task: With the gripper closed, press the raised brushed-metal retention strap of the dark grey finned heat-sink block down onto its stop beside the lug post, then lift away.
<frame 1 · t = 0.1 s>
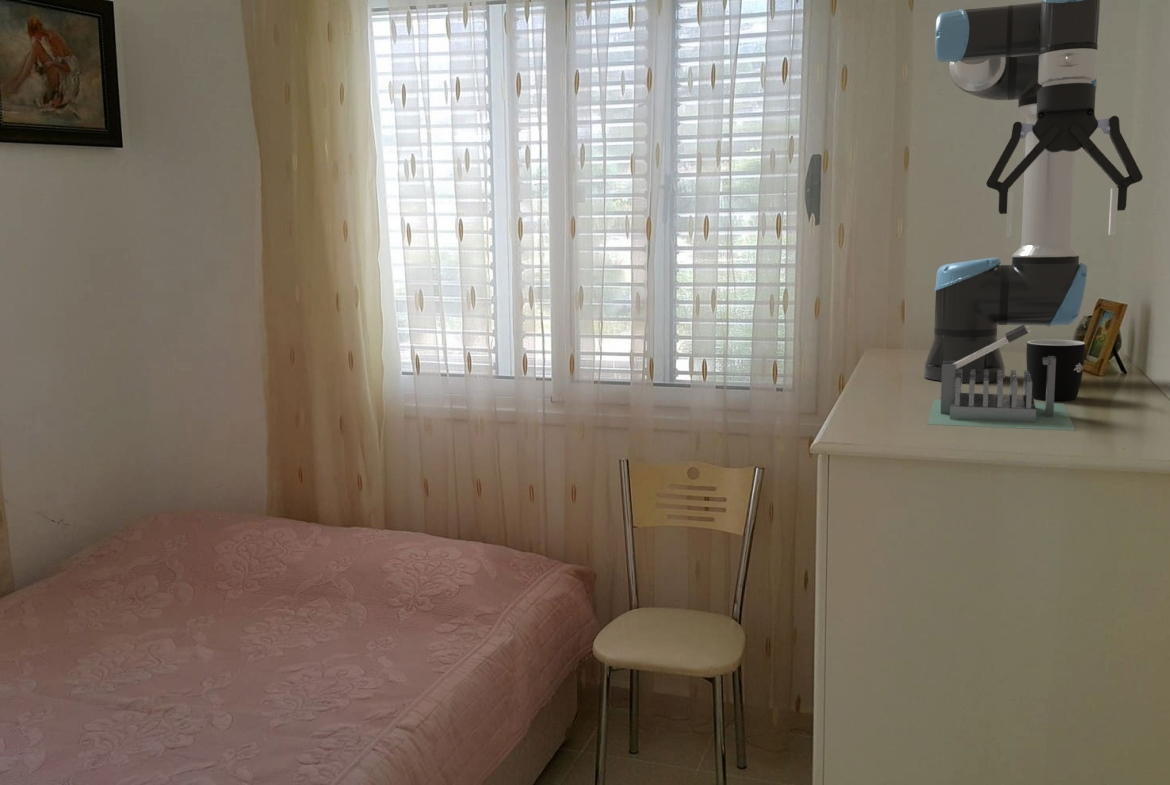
hand: (1059, 236, 147), 28 cm above the table, fingers open, 13 cm apart
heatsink: (991, 413, 159), resting on board
board: (998, 417, 159), on the table
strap: (986, 349, 158), point 11 cm above the table, hinge at 30.0°
mug: (1054, 401, 173), on the table
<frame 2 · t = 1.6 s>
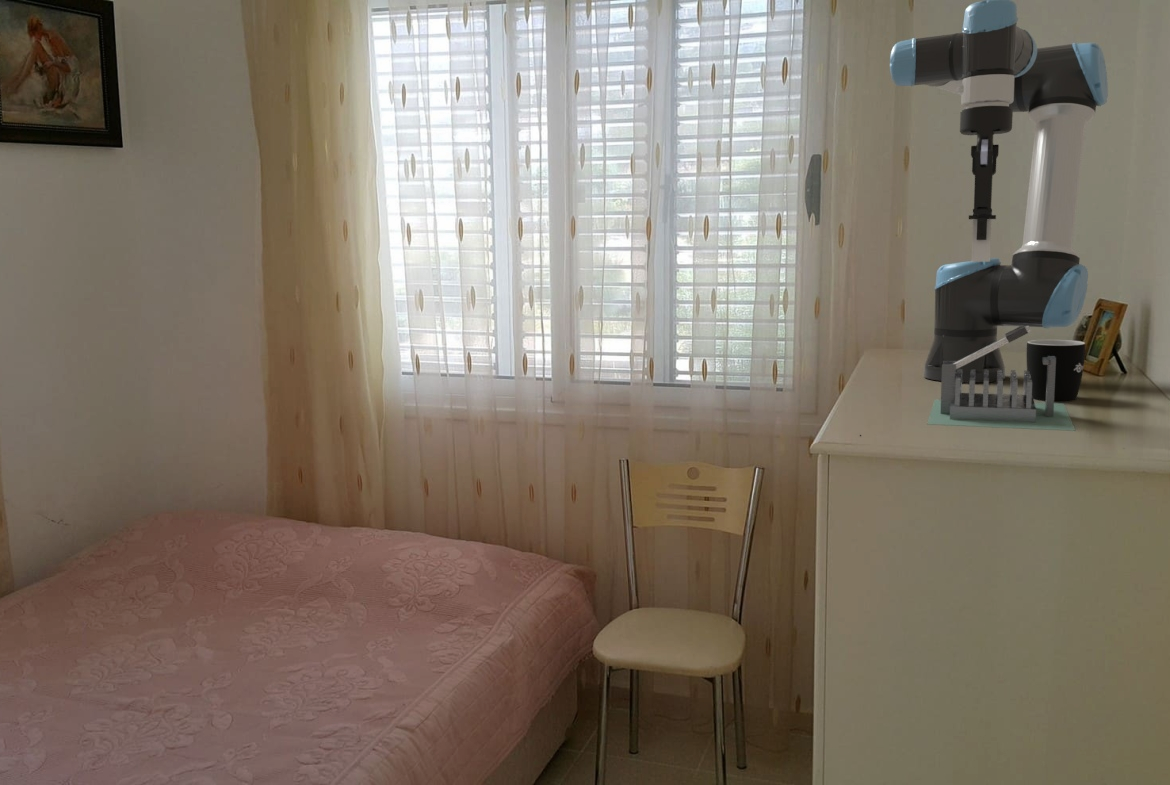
hand: (980, 261, 160), 24 cm above the table, fingers closed
nothing on the table moved.
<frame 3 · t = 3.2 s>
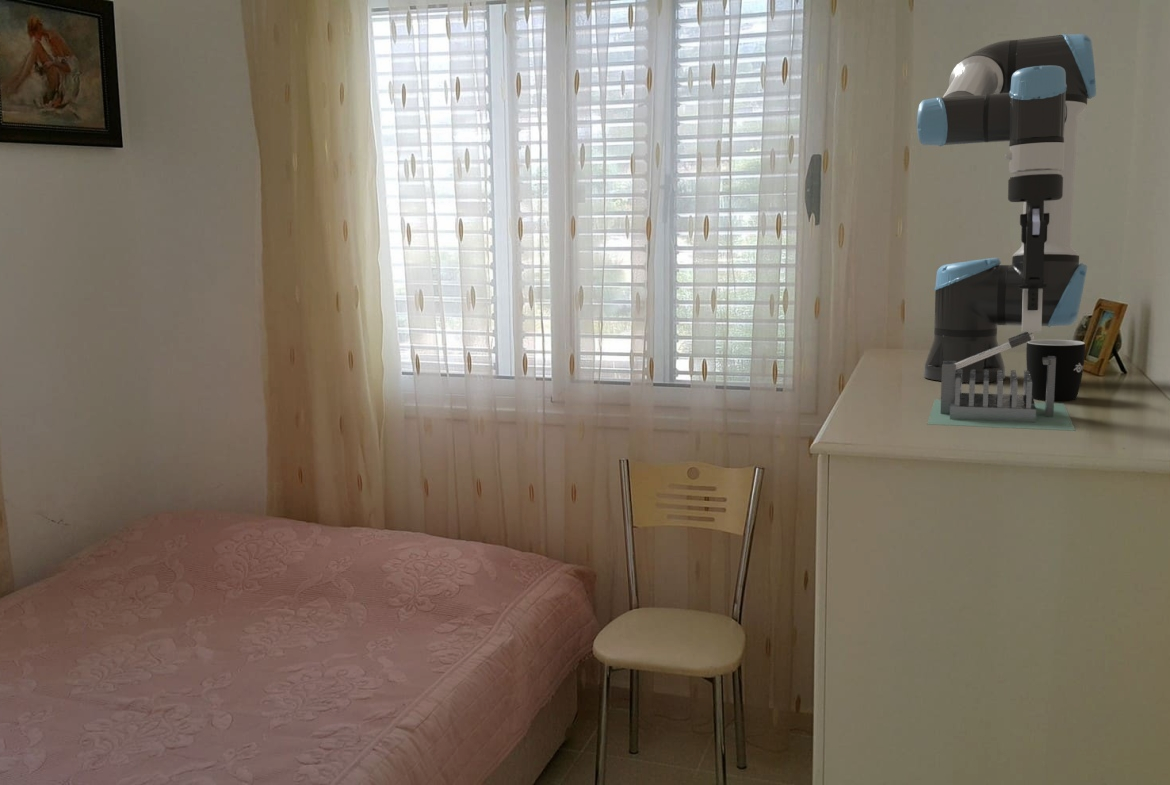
hand: (1031, 331, 155), 14 cm above the table, fingers closed
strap: (988, 353, 158), point 10 cm above the table, hinge at 24.6°, touching gripper
everything else where it was.
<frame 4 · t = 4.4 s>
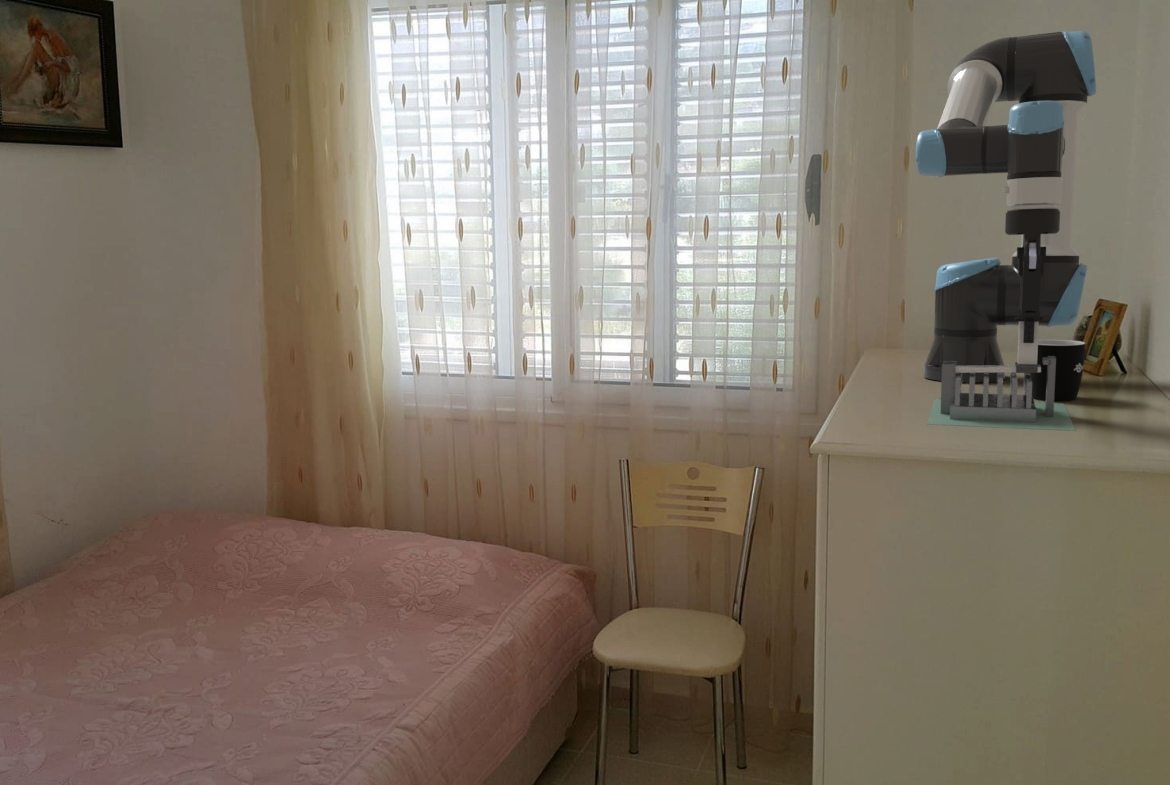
hand: (1027, 363, 156), 9 cm above the table, fingers closed
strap: (992, 368, 158), point 8 cm above the table, hinge at 1.7°, touching gripper
everything else where it was.
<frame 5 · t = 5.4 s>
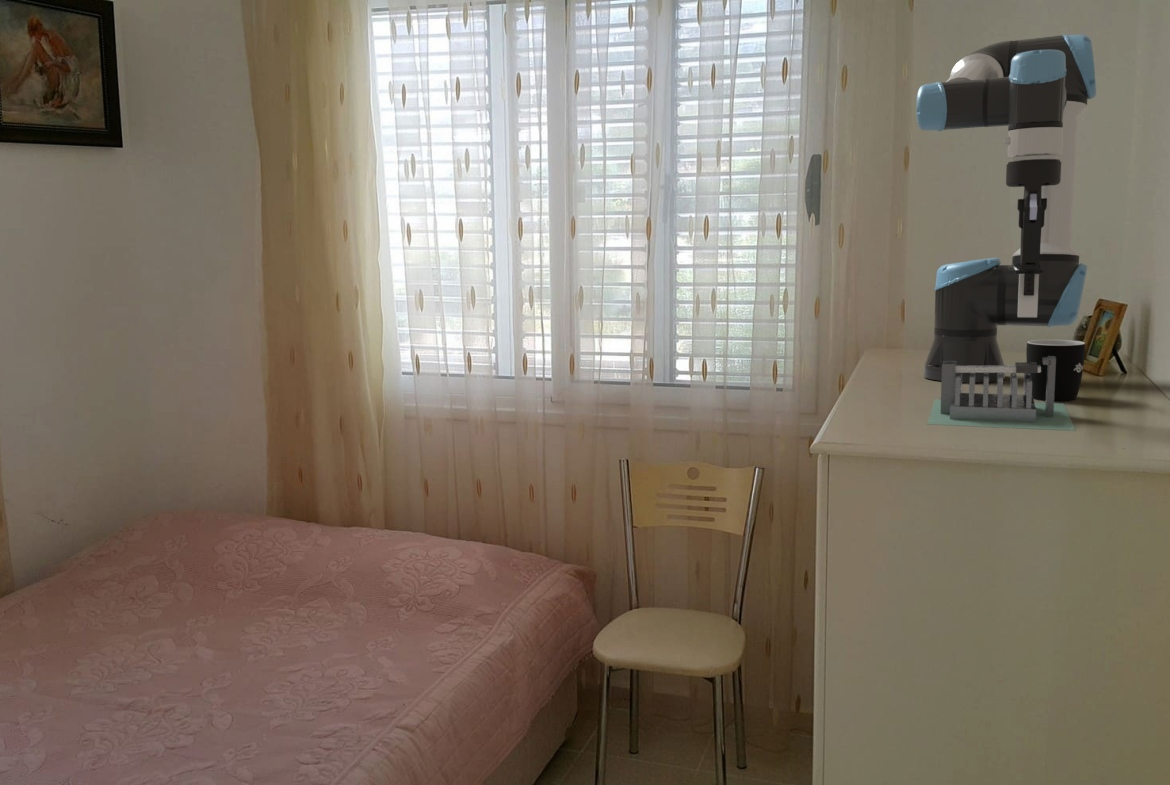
hand: (1027, 316, 155), 16 cm above the table, fingers closed
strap: (992, 368, 158), point 8 cm above the table, hinge at 1.6°
everything else where it was.
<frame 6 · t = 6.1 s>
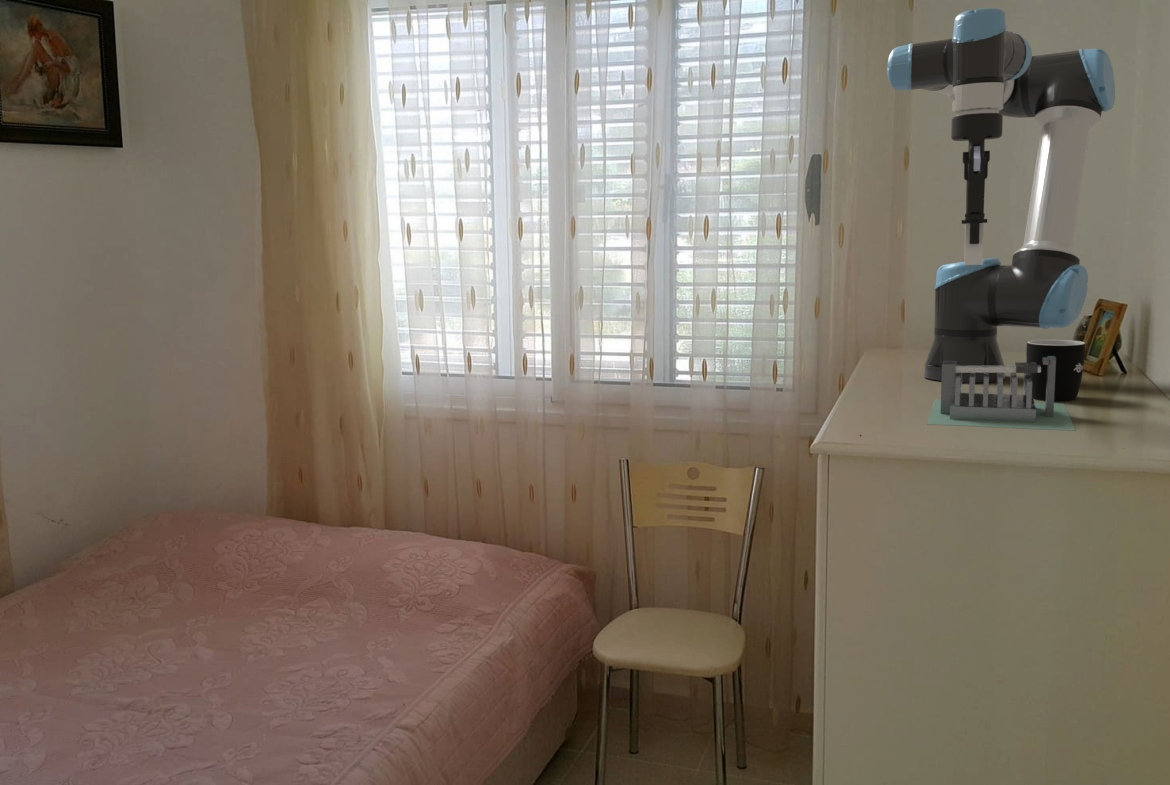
hand: (973, 264, 164), 24 cm above the table, fingers closed
nothing on the table moved.
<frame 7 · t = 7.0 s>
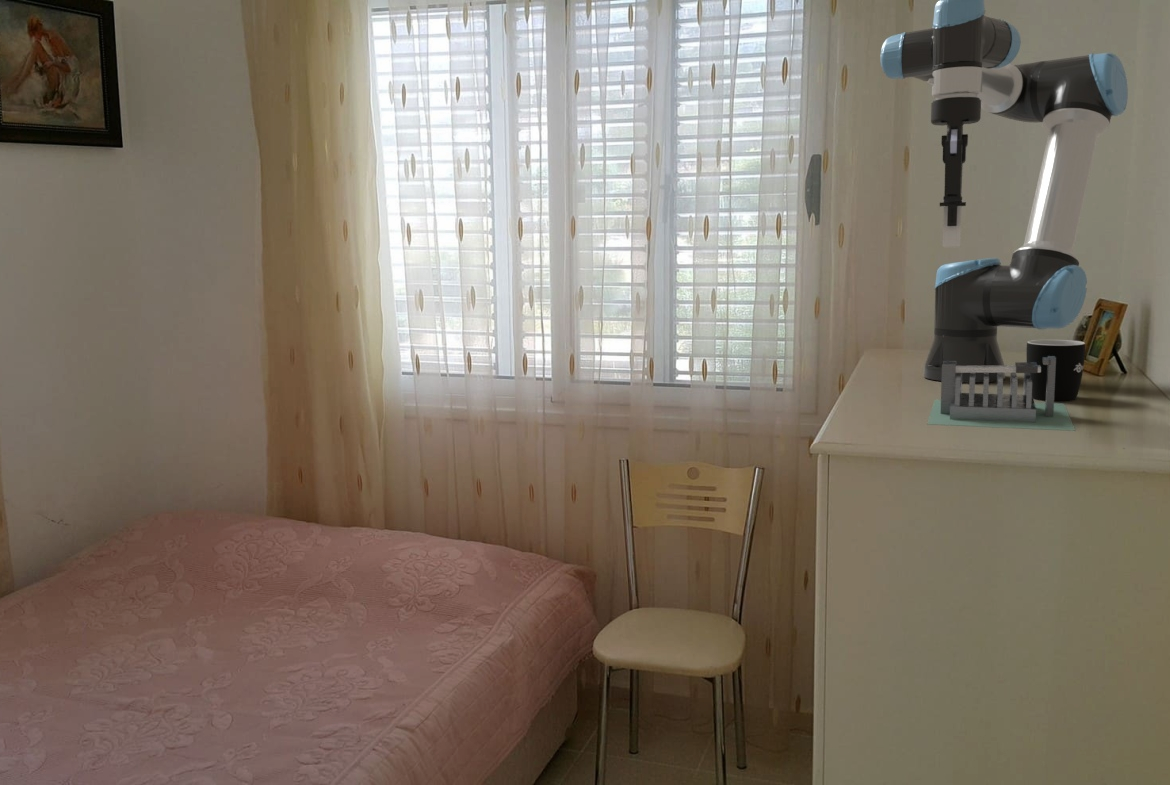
hand: (951, 246, 166), 26 cm above the table, fingers closed
nothing on the table moved.
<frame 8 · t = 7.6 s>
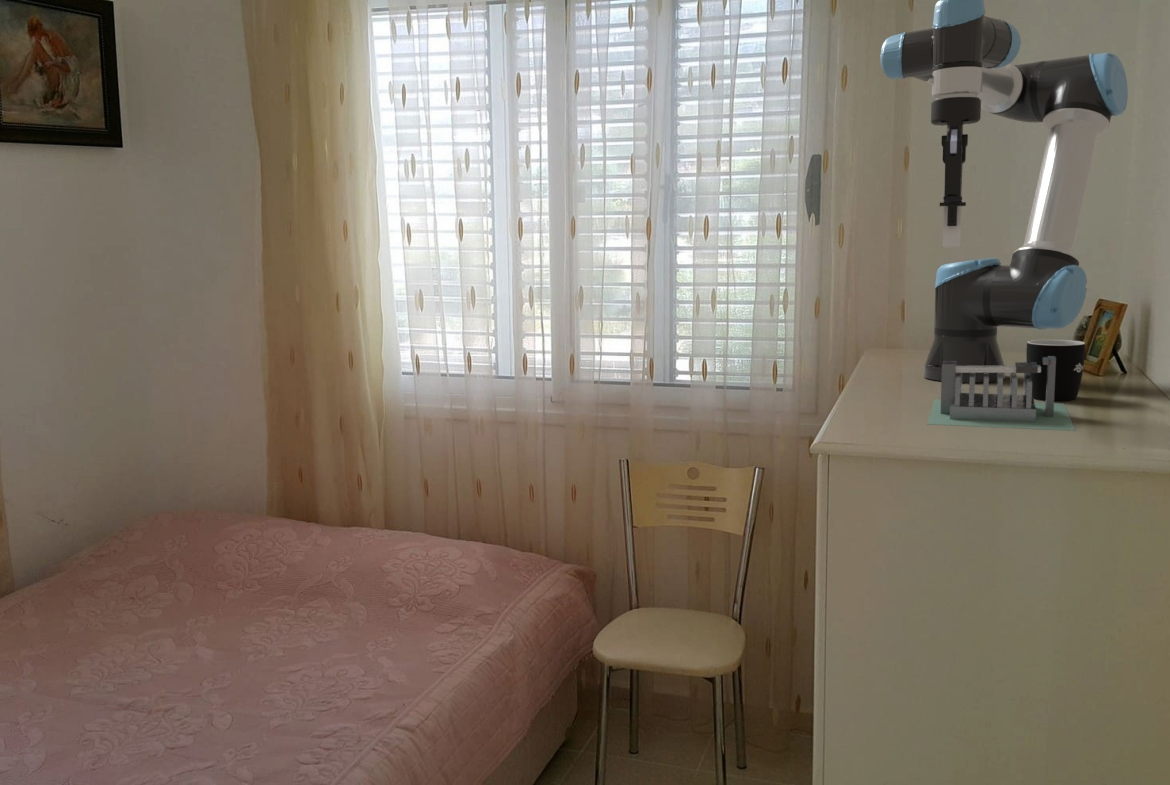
hand: (951, 246, 166), 26 cm above the table, fingers closed
nothing on the table moved.
at the end: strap at +2° (first picture: +30°) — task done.
